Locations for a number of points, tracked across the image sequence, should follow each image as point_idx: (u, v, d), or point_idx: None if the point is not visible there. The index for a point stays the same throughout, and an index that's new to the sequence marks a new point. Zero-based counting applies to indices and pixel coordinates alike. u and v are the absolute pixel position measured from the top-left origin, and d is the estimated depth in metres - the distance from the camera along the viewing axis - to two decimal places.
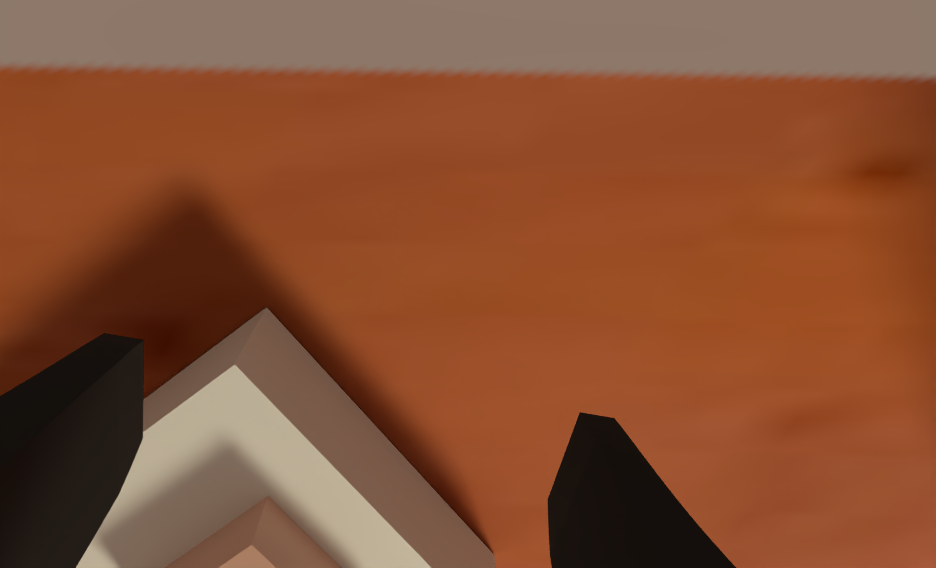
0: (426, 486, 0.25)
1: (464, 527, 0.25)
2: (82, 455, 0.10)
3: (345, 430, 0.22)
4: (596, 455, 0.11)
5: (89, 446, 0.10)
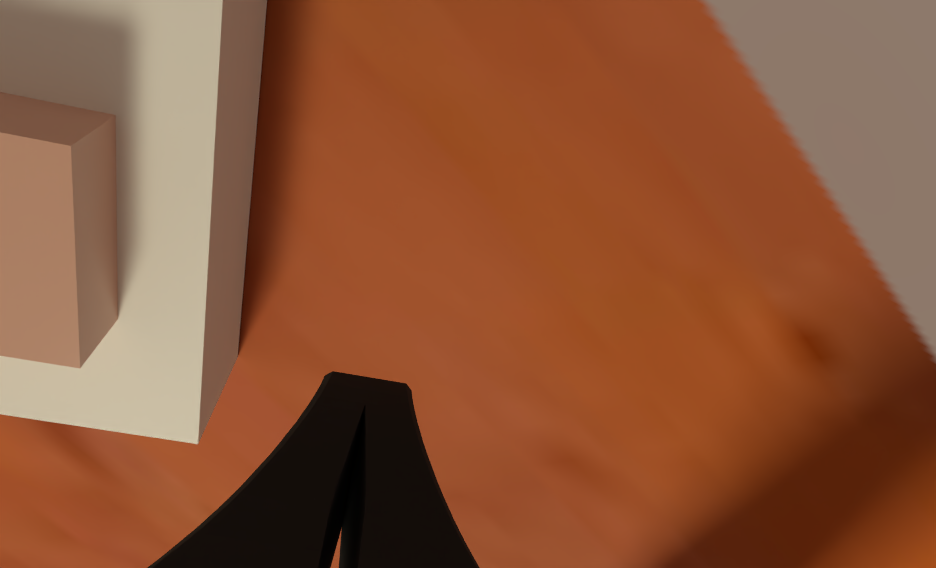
0: (244, 248, 0.21)
1: (239, 312, 0.22)
2: (343, 493, 0.10)
3: (238, 131, 0.17)
4: (364, 418, 0.11)
5: (345, 484, 0.10)
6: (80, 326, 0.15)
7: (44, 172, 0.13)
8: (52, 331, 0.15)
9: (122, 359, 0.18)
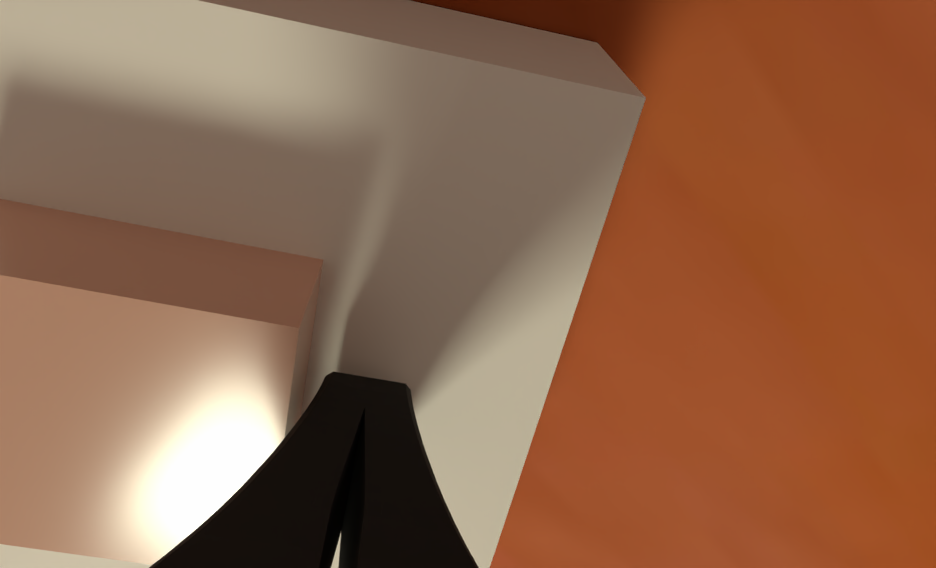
0: None
1: None
2: (343, 493, 0.10)
3: None
4: (364, 418, 0.11)
5: (346, 484, 0.10)
6: None
7: (258, 360, 0.10)
8: None
9: None
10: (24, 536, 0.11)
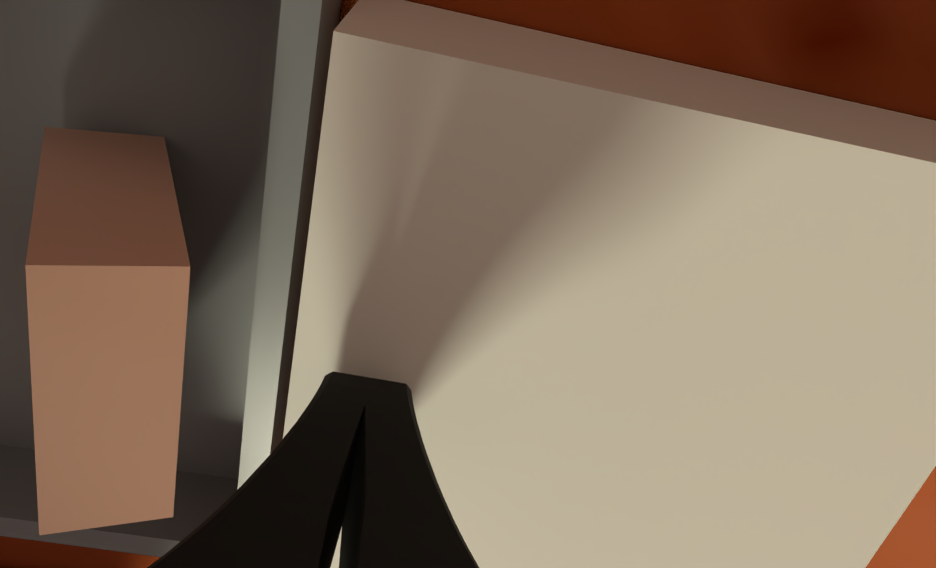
0: None
1: None
2: (342, 493, 0.10)
3: None
4: (364, 418, 0.11)
5: (345, 484, 0.10)
6: (43, 488, 0.11)
7: None
8: None
9: None
10: None
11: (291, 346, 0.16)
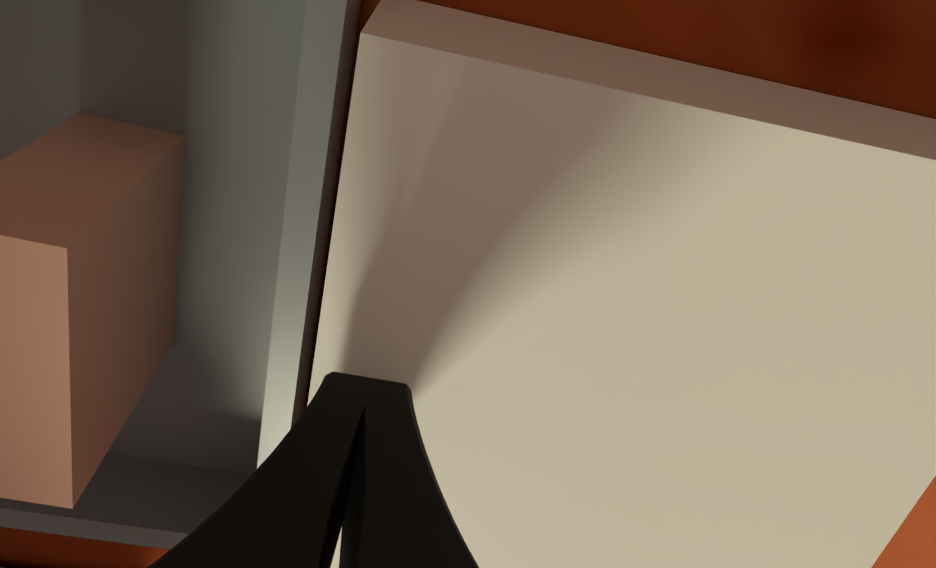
0: None
1: None
2: (342, 493, 0.10)
3: None
4: (364, 418, 0.11)
5: (345, 484, 0.10)
6: None
7: None
8: None
9: None
10: None
11: (308, 343, 0.16)
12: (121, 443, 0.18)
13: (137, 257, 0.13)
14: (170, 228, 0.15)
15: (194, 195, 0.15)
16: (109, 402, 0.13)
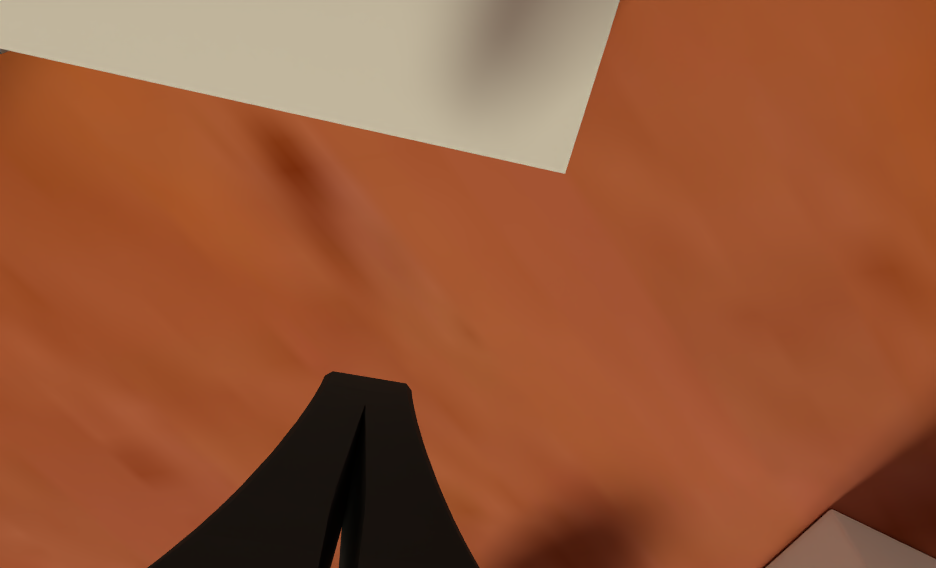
0: None
1: None
2: (342, 493, 0.10)
3: None
4: (364, 418, 0.11)
5: (345, 484, 0.10)
6: None
7: None
8: None
9: (507, 44, 0.15)
10: None
11: None
12: None
13: None
14: None
15: None
16: None
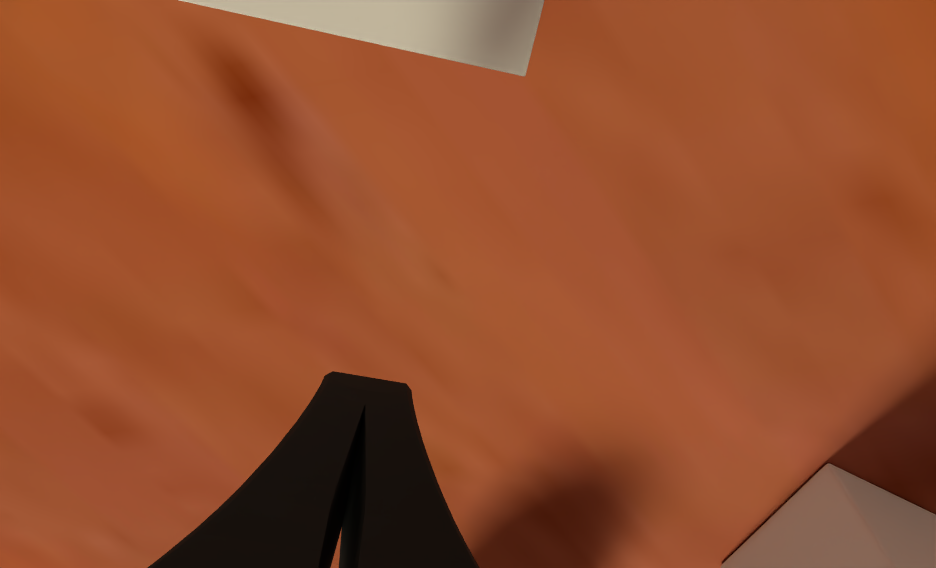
0: None
1: None
2: (342, 493, 0.10)
3: None
4: (364, 418, 0.11)
5: (345, 484, 0.10)
6: None
7: None
8: None
9: None
10: None
11: None
12: None
13: None
14: None
15: None
16: None
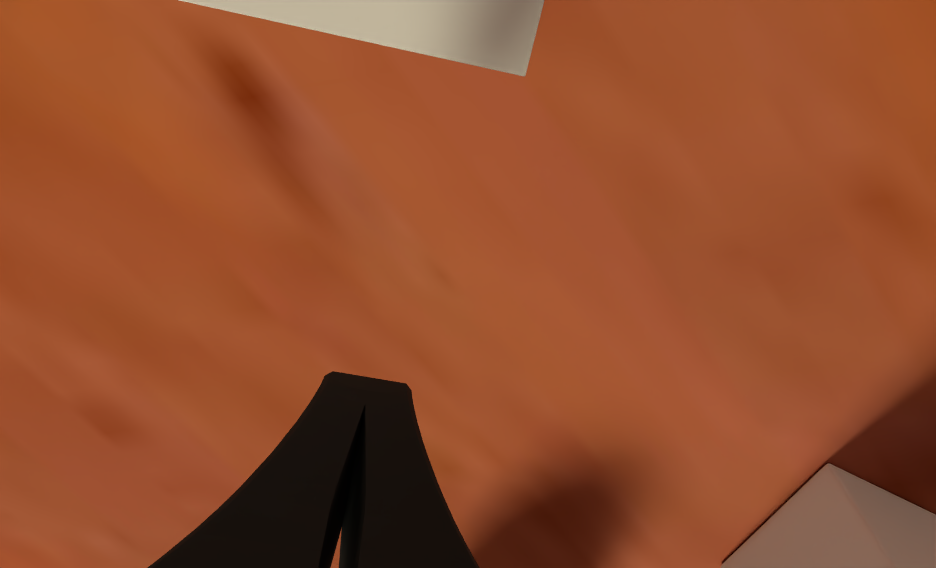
0: None
1: None
2: (342, 493, 0.10)
3: None
4: (364, 418, 0.11)
5: (345, 484, 0.10)
6: None
7: None
8: None
9: None
10: None
11: None
12: None
13: None
14: None
15: None
16: None
